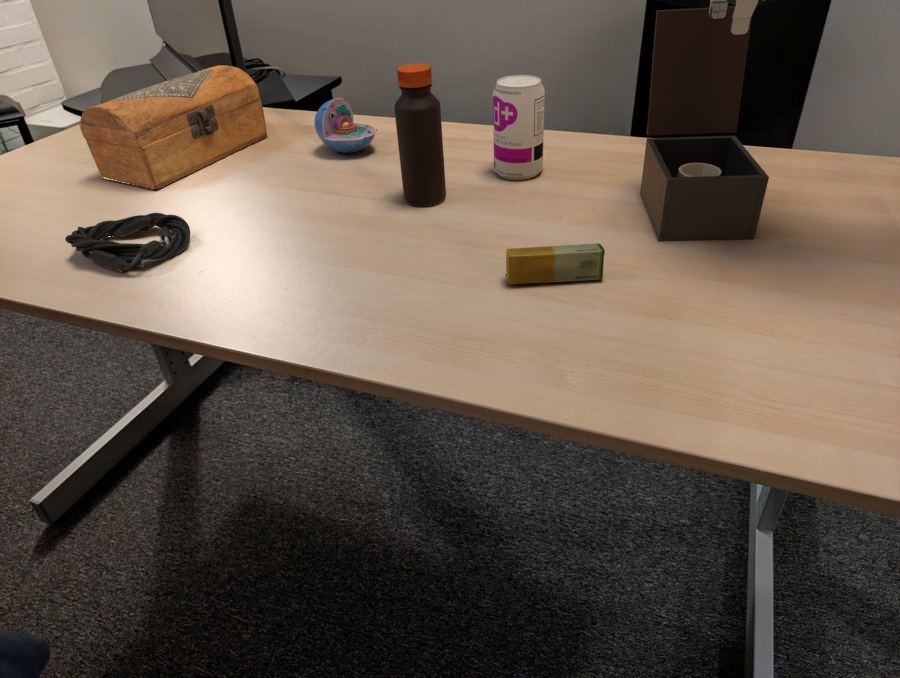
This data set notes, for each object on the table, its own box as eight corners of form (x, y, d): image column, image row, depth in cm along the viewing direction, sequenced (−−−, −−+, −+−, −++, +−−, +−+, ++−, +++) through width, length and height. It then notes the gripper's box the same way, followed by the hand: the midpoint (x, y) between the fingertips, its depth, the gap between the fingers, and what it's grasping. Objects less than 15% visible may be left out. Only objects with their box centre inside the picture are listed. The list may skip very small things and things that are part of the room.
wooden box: (158, 193, 113) (130, 112, 105) (98, 179, 120) (67, 102, 112) (275, 137, 133) (260, 66, 125) (218, 128, 141) (200, 60, 132)
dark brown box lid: (753, 5, 87) (751, 5, 88) (657, 10, 89) (656, 10, 89) (736, 132, 94) (734, 131, 95) (647, 135, 95) (646, 134, 96)
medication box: (598, 271, 83) (601, 242, 81) (603, 280, 81) (606, 250, 79) (505, 276, 83) (505, 247, 81) (507, 285, 81) (507, 255, 79)
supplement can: (511, 185, 107) (511, 91, 98) (485, 170, 113) (483, 80, 104) (552, 173, 110) (555, 81, 101) (524, 159, 116) (525, 71, 107)
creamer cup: (708, 201, 96) (715, 161, 92) (718, 218, 91) (726, 177, 88) (669, 202, 96) (675, 163, 93) (677, 219, 92) (683, 178, 88)
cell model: (360, 163, 119) (353, 110, 113) (308, 156, 124) (298, 104, 118) (389, 145, 126) (383, 94, 120) (339, 138, 131) (331, 89, 125)
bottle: (395, 199, 105) (380, 69, 93) (428, 186, 108) (417, 59, 97) (422, 211, 101) (409, 76, 89) (455, 197, 104) (447, 66, 92)
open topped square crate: (754, 239, 88) (769, 177, 82) (658, 241, 89) (667, 179, 84) (723, 191, 100) (735, 135, 95) (639, 193, 101) (646, 138, 96)
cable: (54, 259, 95) (42, 232, 92) (131, 219, 105) (122, 193, 102) (135, 281, 88) (124, 253, 85) (210, 236, 98) (202, 210, 95)
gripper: (815, -112, 63) (782, 42, 71) (751, -117, 79) (730, 8, 87) (747, -107, 63) (722, 45, 71) (698, -113, 80) (682, 11, 88)
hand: (726, 25), depth 80 cm, fingers open, 8 cm apart
